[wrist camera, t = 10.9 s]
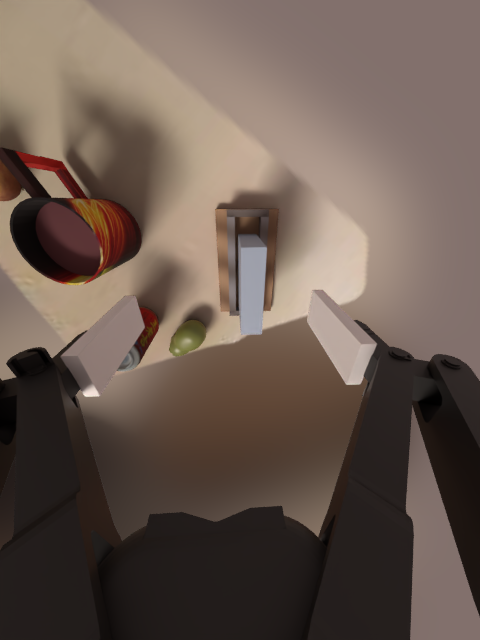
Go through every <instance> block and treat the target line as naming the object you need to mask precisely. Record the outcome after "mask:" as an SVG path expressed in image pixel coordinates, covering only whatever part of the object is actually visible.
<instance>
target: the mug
mask: <svg viewBox="0 0 480 640" xmlns="http://www.w3.org/2000/svg"><path fill="white" fill-rule="evenodd" d="M0 160H1V161H2V163H3V164H4V165H5V166H6V167H7V169H8V170H9V171H10V172H11V173H12V175H13V176H14V177H15V178H16V179H17V181H18V182H19V183H20V184H21V185H22V187H23V188H24V189H25V190H26V191H27V193H28V194H29V195H30V196H31V197H32V198H29V199H26V200H24V201H22V202H20V203H19V204H18V205H17V206H16V207H15V208H14V210H13V212H12V214H11V218H10V231H11V235H12V238H13V241H14V243H15V245H16V247H17V249H18V251H19V252H20V254H21V255H22V256H23V258H24V259H25V260H26V261H27V262H28V263H29V264H30V265H31V266H32V267H33V268H34V269H35V270H37V271H38V272H39V273H41V274H42V275H44V276H45V277H47V278H49V279H51V280H53V281H56V282H59V283H62V284H68V285H81V284H86V283H88V282H90V281H92V280H94V279H96V278H98V277H100V276H101V275H103V274H105V273H107V272H109V271H110V270H112V269H114V268H116V267H118V266H119V265H121V264H123V263H125V262H127V261H128V260H130V259H132V258H133V257H134V256H136V254H137V253H138V252H139V249H140V247H141V232H140V229H139V226H138V224H137V222H136V220H135V219H134V217H133V216H132V215H131V214H130V212H129V211H127V210H126V209H125V208H124V207H123V206H121V205H120V204H118V203H116V202H113V201H110V200H106V199H88V198H87V197H86V195H85V194H84V193H83V191H82V190H81V188H80V187H79V186H78V184H77V183H76V181H75V180H74V179H73V177H72V176H71V174H70V173H69V172H68V170H67V168H66V167H65V165H64V164H63V162H62V161H57V160H53V159H49V158H45V157H41V156H40V157H38V156H34V155H30V154H26V153H22V152H17V151H13V150H9V149H5V148H0ZM28 167H31V168H37V169H42V170H48V171H53V172H55V173H56V175H57V176H58V177H59V179H60V180H61V181H62V183H63V184H64V185H65V187H66V188H67V189H68V191H69V192H70V193H71V195H72V196H73V197H74V198H51V196H50V195H49V194H48V193H47V191H46V190H45V189H44V187H43V186H42V185H41V184H40V182H39V181H38V180H37V179H36V177H35V176H34V175H33V174H32V172H31V171H30V170H29V169H28Z"/></svg>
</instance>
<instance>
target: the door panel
mask: <svg viewBox="0 0 480 640" xmlns="http://www.w3.org/2000/svg"><path fill="white" fill-rule="evenodd" d="M266 255H267V247H266V245H265V244H264V243H263V242H262V241H261V239H260V238H259V237H258V236H257V234H238V294H239V314H240V328H241V335H248V334H262V322H263V305H264V289H265V272H266Z"/></svg>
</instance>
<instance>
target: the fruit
mask: <svg viewBox="0 0 480 640" xmlns="http://www.w3.org/2000/svg"><path fill="white" fill-rule="evenodd" d="M20 193H21V185H20V183H19V182H18V181H17V179H16V178H15V177H14V176H13V175H12V173H11V172H10V171H9V170H8V169H7V167H6V166H5V165H4V164H3V163H2V161H1V160H0V201H9V200H12V199H14V198H16V197H17V196H18V195H19V194H20Z"/></svg>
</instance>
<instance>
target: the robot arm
mask: <svg viewBox="0 0 480 640" xmlns="http://www.w3.org/2000/svg"><path fill="white" fill-rule="evenodd" d="M307 322H308V324H309V326H310V327H311V329H312V330H313V332H314V333H315V335H316V337H317V338H318V340H319V341H320V343H321V345H322V346H323V348H324V349H325V351H326V353H327V354H328V356H329V358H330V359H331V361H332V362H333V364H334V365H335V367H336V369H337V370H338V372H339V374H340V375H341V377H342V378H343V380H344V382H345V383H346V385H355V384H361V382H362V379H363V377H365V378H366V379H367V381H368V384H367V386H366V388H365V390H364V393H363V395H362V396H363V398H362V402H361V405H360V408H359V411H358V415H357V418H356V421H355V425H354V428H353V431H352V434H351V437H350V440H349V444H348V447H347V450H346V454H345V457H344V460H343V464H342V466H341V470H340V473H339V476H338V479H337V483H336V486H335V489H334V492H333V496H332V499H331V502H330V505H329V509H328V511H327V514H326V516H325V519H324V522H323V524H322V527H321V530H320V533H319V537H317V536H316V535H315V534H314V533H313V532H312V531H310V530H309V529H308V528H307V527H306V526H304V525H303V524H301V523H300V522H298V521H296V520H294V519H292V518H290V517H287V516H284V515H283V509H282V506H274V507H258V508H249V509H247V510H244V511H242V512H240V513H237V514H235V515H232V516H230V517H228V518H226V519H223V520H221V521H218V522H213V521H210V520H206V519H203V518H200V517H196V516H193V515H190V514H186V513H183V512H180V513H163V514H150V515H149V519H148V523H147V526H145V527H143V528H141V529H139V530H137V531H135V532H134V533H133V534H131V535H130V536H128V537H127V538H126V539H124V540H123V541H122V540H121V537H120V535H119V533H118V531H117V529H116V527H115V525H114V522H113V519H112V516H111V512H110V509H109V505H108V502H107V498H106V495H105V491H104V488H103V484H102V481H101V477H100V474H99V471H98V467H97V463H96V460H95V457H94V453H93V449H92V446H91V442H90V439H89V436H88V432H87V429H86V425H85V422H84V418H83V415H82V411H81V408H80V404H79V401H78V399H77V397H76V396H75V395H76V394H77V392H78V391H79V390H80V389H81V391H82V393H83V394H84V396H85V397H90V396H100V395H101V394H102V392H103V391H104V389H105V388H106V386H107V385H108V383H109V381H110V380H111V378H112V377H113V375H114V374H115V372H116V371H117V369H118V368H119V366H120V365H121V363H122V362H123V360H124V358H125V357H126V355H127V354H128V352H129V351H130V349H131V348H132V346H133V345H134V343H135V342H136V340H137V339H138V337H139V336H140V334H141V332H142V331H143V329H144V328H145V326H144V322H143V319H142V316H141V312H140V309H139V306H138V303H137V299H136V296H124V297H123V298H122V299H121V300H120V301H119V302H118V303H117V304H116V305H115V306H113V307H112V308H111V309H110V310H109V311H108V312H107V313H106V314H105V315H104V316H103V317H102V318H101V319H100V320H99V321H97V322H96V323H95V324H94V325H93V326H92V327H91V328H90V329H89V330H86V331H85V332H83V333H81V334H79V335H78V336H77V337H75V338H74V339H73V340H72V342H70V343H69V344H68V345H67V346H66V347H65V348H63V349H62V350H61V351H60V352H59V353H58V354H57V355H56V356H55V357H53V358H51V357H50V355H49V354H48V352H47V350H46V349H45V348H42V347H38V348H32V349H28V350H25V351H23V352H20V353H18V354H16V355H15V356H13V357H11V358H10V359H9V360H8V362H7V363H6V364H7V366H8V367H9V368H10V369H11V371H12V372H13V373H14V374H15V376H16V378H12V379H8V380H3V381H2V380H1V379H0V496H1V494H2V490H3V488H4V485H5V483H6V480H7V477H8V474H9V471H10V469H11V466H12V463H13V461H14V458H15V455H16V463H15V509H14V534H13V537H12V539H11V540H10V541H9V542H7V543H6V544H4V545H3V547H2V548H1V550H0V640H410V625H411V624H410V623H411V596H412V567H413V566H412V565H413V538H414V533H413V522H412V519H411V517H409V516H408V515H407V514H406V492H407V476H408V461H409V445H410V429H411V428H410V427H411V414H412V406H413V408H414V412H415V415H416V418H417V421H418V424H419V428H420V431H421V434H422V437H423V440H424V443H425V447H426V450H427V453H428V456H429V459H430V463H431V466H432V469H433V472H434V475H435V478H436V482H437V485H438V488H439V491H440V494H441V498H442V501H443V504H444V507H445V510H446V513H447V516H448V520H449V523H450V526H451V529H452V532H453V536H454V539H455V542H456V545H457V548H458V551H459V555H460V558H461V561H462V564H463V567H464V571H465V574H466V577H467V580H468V583H469V586H470V589H471V592H472V596H473V599H474V602H475V605H476V607H477V610H478V613H479V616H480V381H479V379H478V378H477V377H476V375H475V374H474V373H473V371H472V370H471V368H470V367H469V366H468V365H467V364H465V363H464V362H462V361H461V360H460V359H457V358H455V357H452V356H448V355H442V354H437V355H434V356H433V357H432V359H431V360H430V362H428V361H423V360H416V359H414V357H413V356H412V355H411V354H409V353H408V352H406V351H404V350H402V349H399V348H395V347H389V346H388V345H387V344H386V343H385V342H384V341H383V340H382V339H380V338H379V337H378V336H377V335H376V334H375V333H374V332H373V331H372V330H370V328H369V327H368V326H367V325H365V324H363V323H362V322H360V321H358V320H353V319H352V318H351V317H350V316H349V315H348V314H347V313H346V312H344V310H343V309H341V308H340V307H339V306H338V305H337V304H336V303H335V302H334V301H333V300H332V299H331V298H330V297H329V296H328V295H327V294H326V293H325V292H324V291H323V290H312V296H311V301H310V307H309V312H308V318H307Z"/></svg>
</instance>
